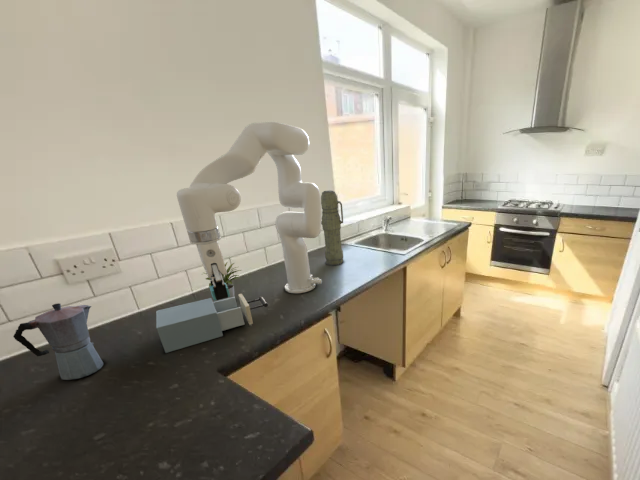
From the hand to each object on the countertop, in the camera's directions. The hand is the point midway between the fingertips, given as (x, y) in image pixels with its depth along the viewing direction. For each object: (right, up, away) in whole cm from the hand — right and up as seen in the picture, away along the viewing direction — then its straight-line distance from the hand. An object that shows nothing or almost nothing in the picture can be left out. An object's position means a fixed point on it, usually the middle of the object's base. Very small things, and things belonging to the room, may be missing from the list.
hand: (220, 294), depth 94 cm
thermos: (+23, +15, +68) cm, 73 cm away
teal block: (0, 0, 0) cm, 0 cm away
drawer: (-2, -9, +14) cm, 17 cm away
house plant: (-12, -4, +28) cm, 31 cm away
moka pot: (-34, -21, -8) cm, 40 cm away
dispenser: (-13, -13, +8) cm, 20 cm away
